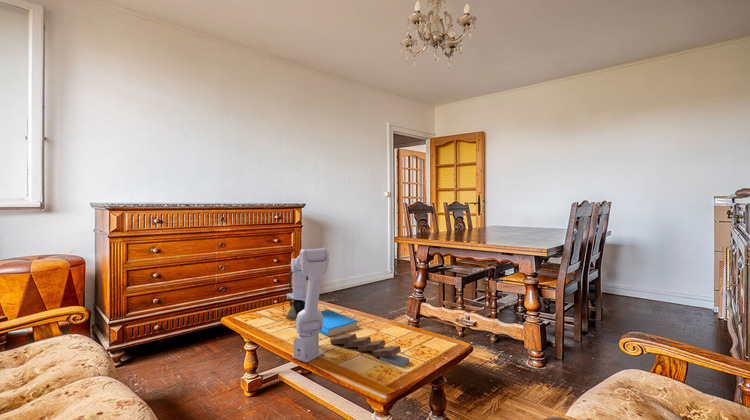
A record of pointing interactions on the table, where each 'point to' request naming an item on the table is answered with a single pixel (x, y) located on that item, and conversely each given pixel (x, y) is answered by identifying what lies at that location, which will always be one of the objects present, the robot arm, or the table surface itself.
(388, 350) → the domino
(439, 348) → the table surface
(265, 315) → the table surface
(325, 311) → the book
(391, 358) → the domino
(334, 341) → the domino
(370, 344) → the domino
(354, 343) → the domino
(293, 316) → the lantern
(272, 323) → the table surface
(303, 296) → the robot arm
